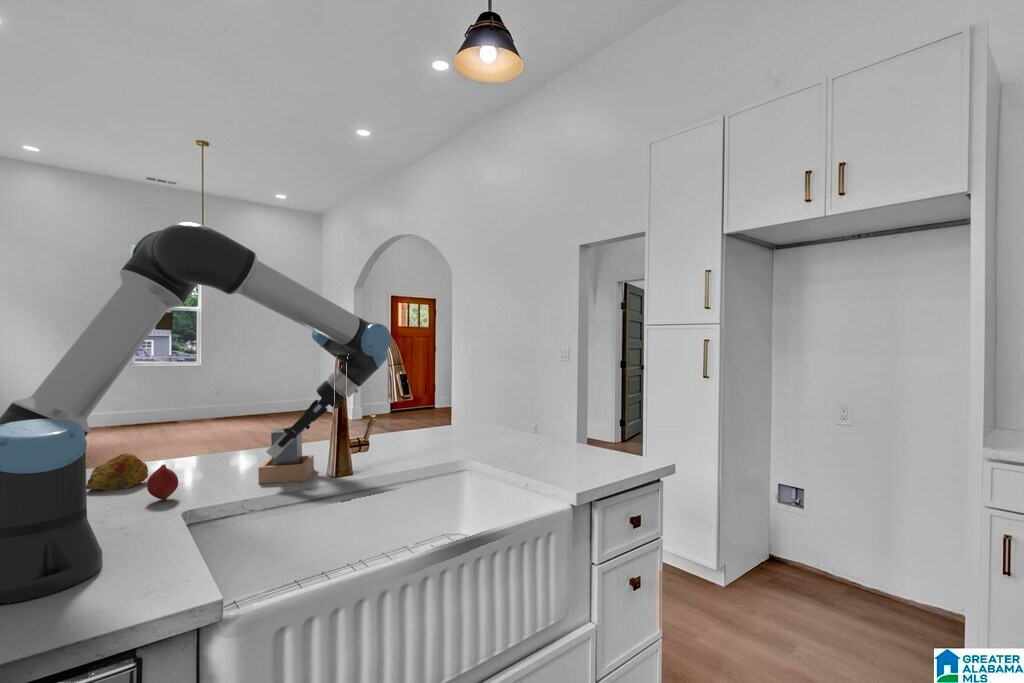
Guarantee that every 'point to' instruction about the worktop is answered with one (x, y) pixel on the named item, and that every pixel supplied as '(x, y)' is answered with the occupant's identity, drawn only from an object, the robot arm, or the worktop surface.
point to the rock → (118, 473)
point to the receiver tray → (286, 471)
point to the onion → (162, 483)
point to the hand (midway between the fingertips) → (277, 449)
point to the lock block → (288, 449)
